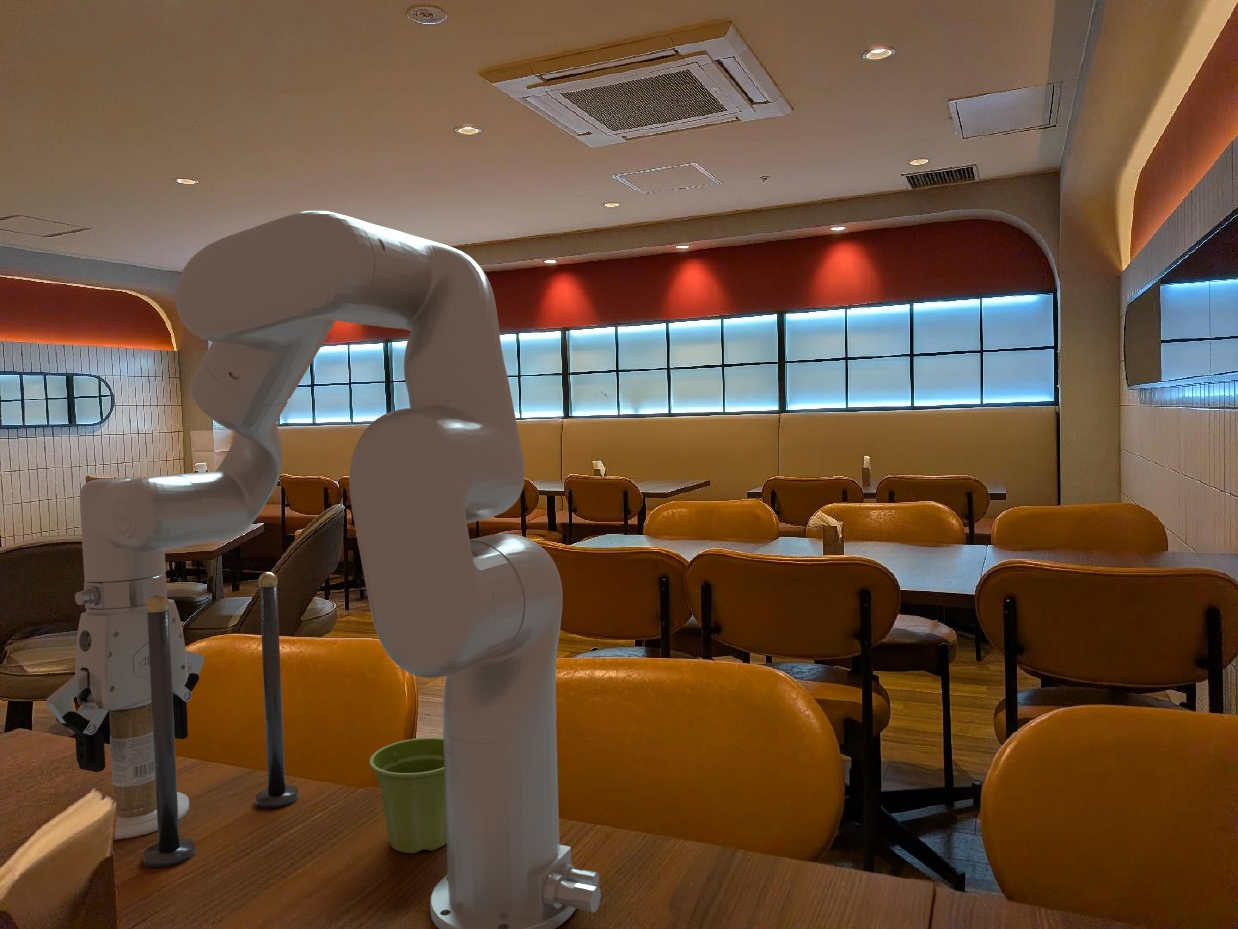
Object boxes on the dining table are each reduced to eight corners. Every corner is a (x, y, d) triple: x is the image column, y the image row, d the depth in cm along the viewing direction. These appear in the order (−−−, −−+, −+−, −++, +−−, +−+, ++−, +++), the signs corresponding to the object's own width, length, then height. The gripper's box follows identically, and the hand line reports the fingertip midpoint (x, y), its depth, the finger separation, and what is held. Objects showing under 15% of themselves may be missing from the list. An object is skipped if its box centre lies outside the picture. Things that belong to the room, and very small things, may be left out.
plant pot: (487, 827, 88) (485, 744, 88) (430, 871, 80) (427, 779, 79) (414, 812, 92) (411, 732, 92) (352, 853, 84) (348, 764, 83)
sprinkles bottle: (156, 796, 96) (150, 676, 95) (165, 810, 92) (159, 685, 91) (108, 809, 93) (102, 685, 92) (116, 823, 89) (109, 694, 89)
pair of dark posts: (306, 795, 97) (297, 569, 96) (165, 871, 81) (152, 600, 80) (277, 789, 99) (268, 568, 98) (133, 863, 83) (120, 598, 81)
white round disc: (209, 805, 95) (209, 797, 95) (125, 847, 86) (125, 837, 86) (147, 792, 99) (146, 784, 99) (60, 830, 90) (60, 821, 90)
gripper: (69, 612, 82) (80, 789, 83) (220, 581, 98) (227, 730, 98) (19, 608, 85) (30, 779, 86) (173, 578, 101) (181, 723, 101)
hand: (135, 752), depth 92 cm, fingers open, 9 cm apart
